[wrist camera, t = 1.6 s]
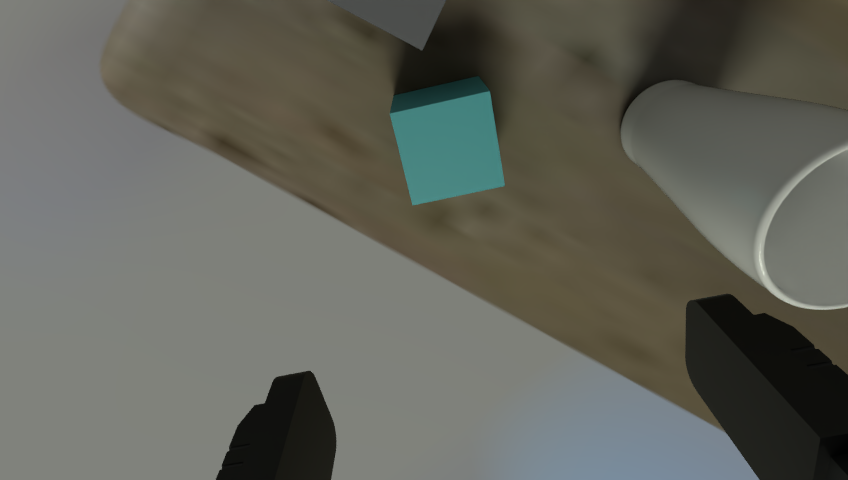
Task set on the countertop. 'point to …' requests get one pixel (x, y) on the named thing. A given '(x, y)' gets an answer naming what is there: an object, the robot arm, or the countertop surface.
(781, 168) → the drinking glass
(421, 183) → the teal block
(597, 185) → the countertop surface
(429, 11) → the charcoal block
